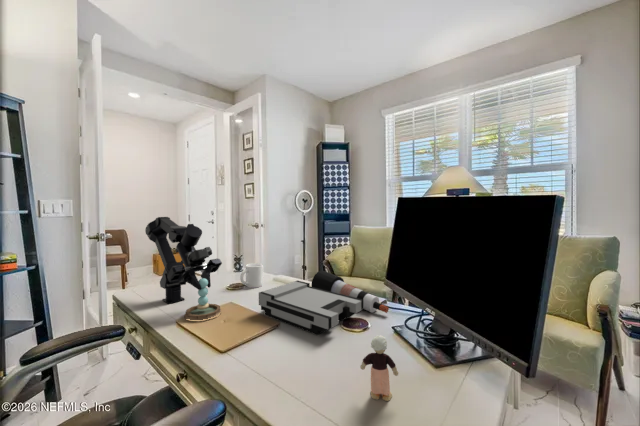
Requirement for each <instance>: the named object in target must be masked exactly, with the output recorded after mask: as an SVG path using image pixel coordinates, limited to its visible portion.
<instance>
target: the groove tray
mask: <svg viewBox="0 0 640 426" xmlns="http://www.w3.org/2000/svg"><path fill="white" fill-rule="evenodd" d="M208 304H209V307H208V308H207V309H203V310H200V309H197V305H194V306H191V307H189V308H187V309H186V311H185V314H184V319H185V318H186V319H190V320H203V319H208V318H211V317H214V316H216V315H218V314H219V313H220V312H221V313H222V309H221V306H220V305H218V304H216V303H208ZM186 319H185V320H186Z"/></svg>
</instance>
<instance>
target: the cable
mask: <svg viewBox="0 0 640 426" xmlns="http://www.w3.org/2000/svg"><path fill="white" fill-rule="evenodd" d="M311 287H314V288H318V289H322V290H326V291H330V292H335V293H339V294H343V295H347V296H351V297H355V298H359V299H363V309H362V310H366V311H367V312H369V313H371V314H372V313H373V314H374V313H375V312H376V311H380V312H384V313H386V314H388V312H389V310H390V308H389V307H388V306H386V305H384V304H382V303H380V299H379V297H378V296H376V295H373V294H372V293H371V294H370V293H369V292H366V291H364V290H363V289H360V288H358V287H356V286H354V285H352V284H349V283H348V282H347V283H346V282H345V281H344V278H342V277H341V276H338V275H336V274H333V273H330V272H328V271H325V270H319V271H317V272H316V273H315V274H314V276H313V278H312V280H311Z"/></svg>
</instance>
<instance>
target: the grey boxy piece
mask: <svg viewBox="0 0 640 426" xmlns="http://www.w3.org/2000/svg"><path fill="white" fill-rule="evenodd" d="M258 306H260V309H261V311H263V312H264V315H265V316H266V317H268V318H269V317H270V318H271V319H275V320H277V321H279V322H283V323H284V324H287V325H290V326H292V327H295V328H298V329H300V330H304V331H305V332H308V333H310V334H313V335H316V336H318V335H320V334H321V333H325V332H326V331H329V330H331V329H332V328H334V327H336V326H337V325H339V322H342V321H343V320H346V319H349V318H351V317H352V316H354V315H355V314H357V313H359V312H360V311H361V312H362V310H364V309H363V299H359V298H355V297H351V296H347V295H343V294H339V293H335V292H330V291H326V290H322V289H318V288H314V287H312V286H310V282H305V281H301V280H295V281H291V282H289V283H285V284H282V285H279V286H276V287H272V288H270V289H266V290H263V291H259V292H258Z"/></svg>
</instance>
